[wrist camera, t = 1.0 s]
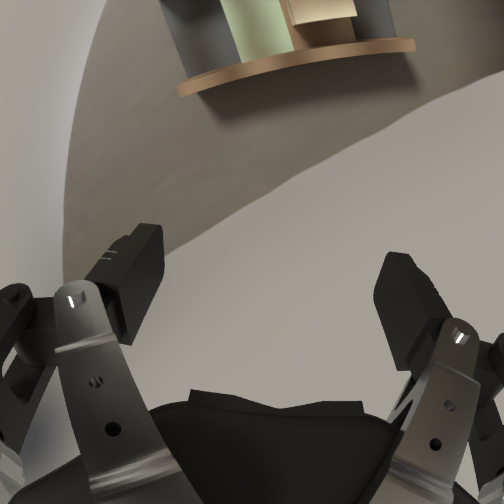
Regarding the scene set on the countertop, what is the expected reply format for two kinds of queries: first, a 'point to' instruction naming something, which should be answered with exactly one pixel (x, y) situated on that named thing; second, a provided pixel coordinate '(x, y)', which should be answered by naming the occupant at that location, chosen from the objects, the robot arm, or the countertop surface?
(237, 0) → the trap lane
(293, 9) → the maple block
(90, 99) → the countertop surface
